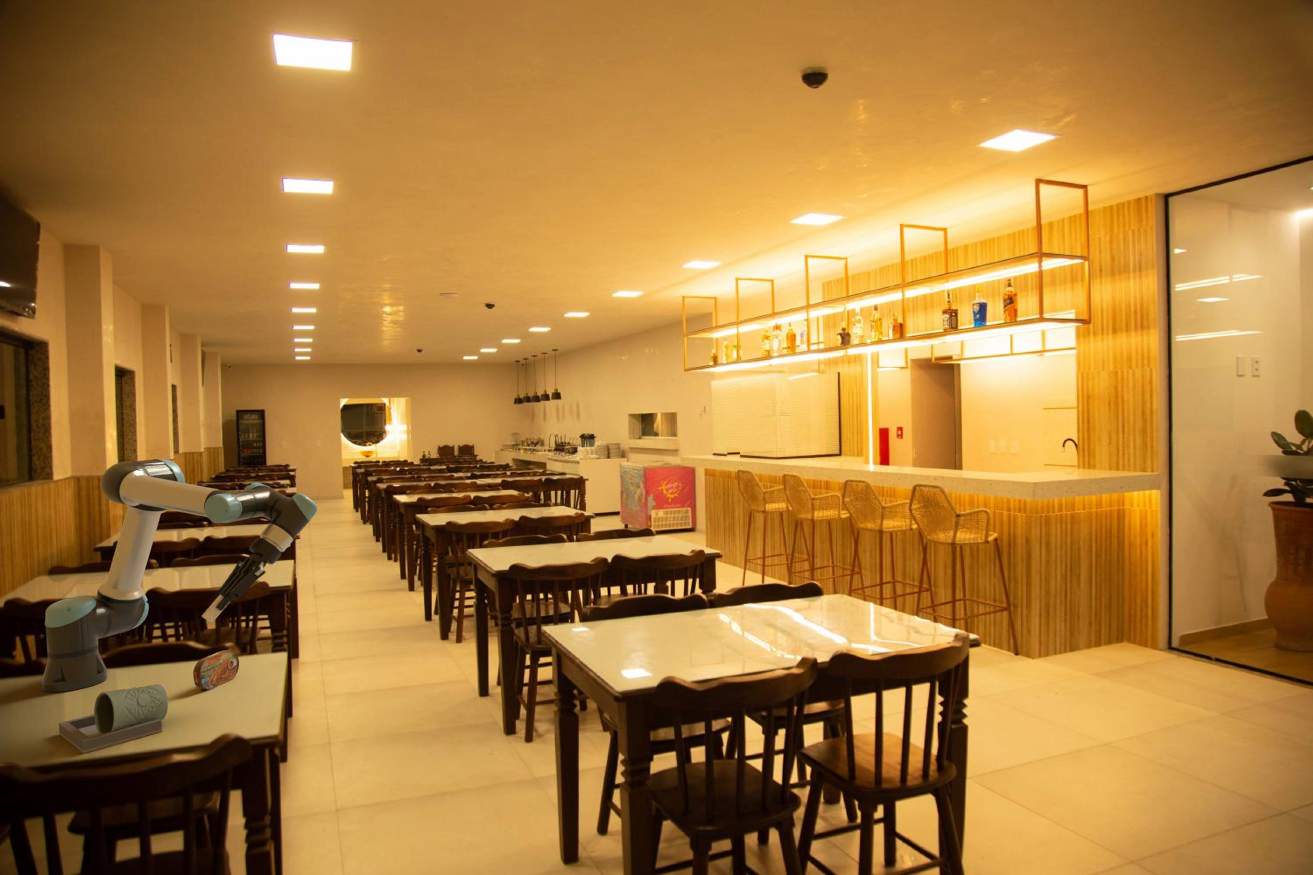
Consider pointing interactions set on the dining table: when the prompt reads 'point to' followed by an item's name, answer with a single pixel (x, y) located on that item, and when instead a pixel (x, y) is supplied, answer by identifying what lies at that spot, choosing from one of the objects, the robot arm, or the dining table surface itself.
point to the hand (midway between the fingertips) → (206, 619)
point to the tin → (216, 669)
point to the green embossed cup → (129, 707)
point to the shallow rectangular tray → (89, 738)
